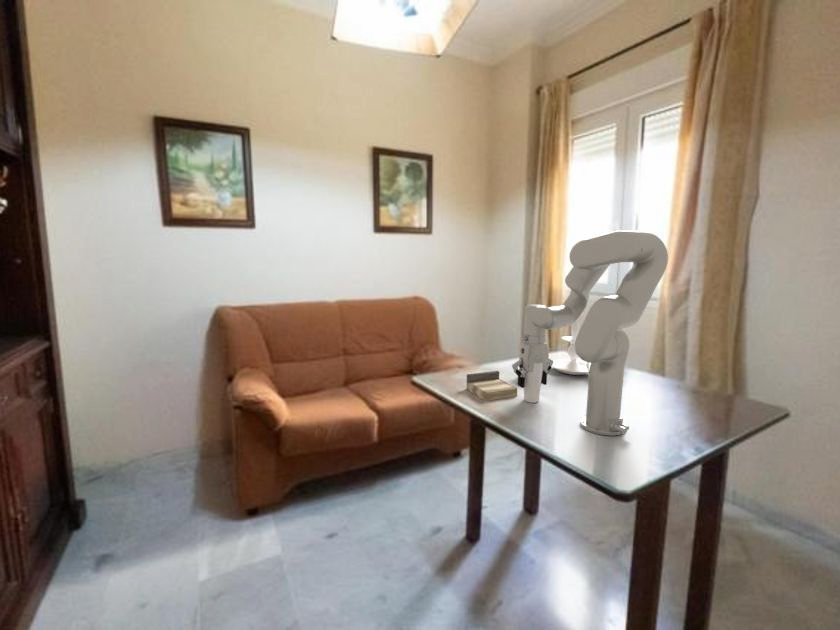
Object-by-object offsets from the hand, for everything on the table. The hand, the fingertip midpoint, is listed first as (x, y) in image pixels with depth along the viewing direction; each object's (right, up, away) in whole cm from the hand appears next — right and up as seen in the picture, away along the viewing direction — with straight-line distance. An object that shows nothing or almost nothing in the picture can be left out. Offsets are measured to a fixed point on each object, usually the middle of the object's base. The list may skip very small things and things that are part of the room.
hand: (532, 385), depth 147 cm
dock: (-13, -4, +9) cm, 17 cm away
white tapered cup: (0, -6, +1) cm, 6 cm away
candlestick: (+29, -1, +35) cm, 46 cm away
